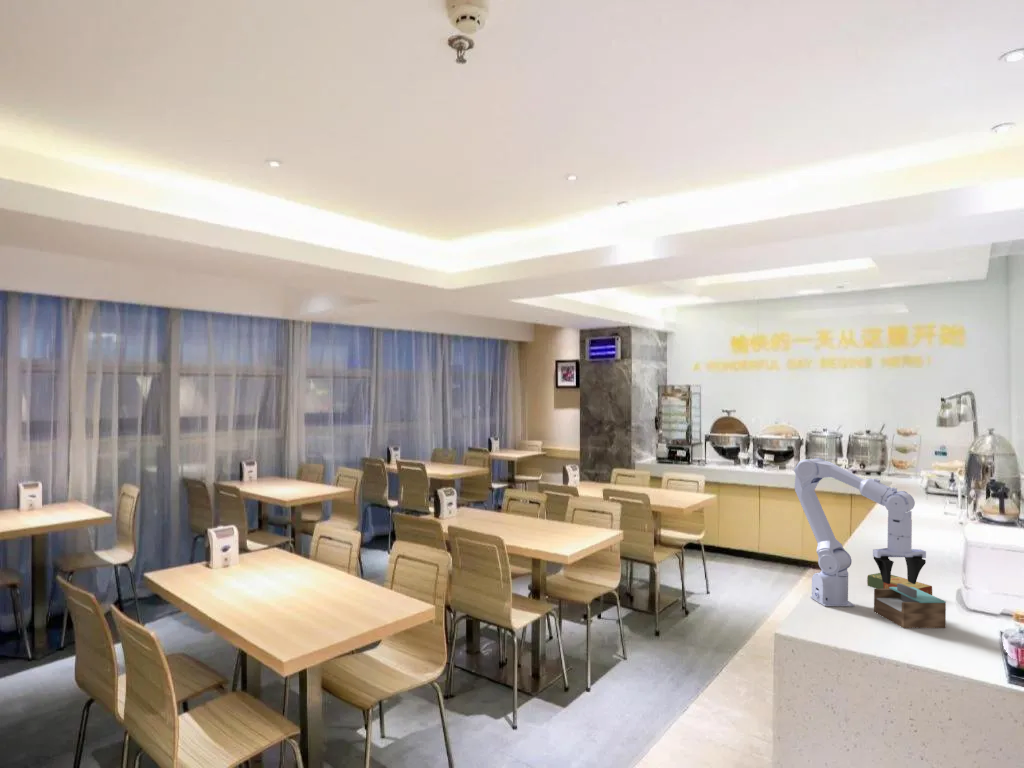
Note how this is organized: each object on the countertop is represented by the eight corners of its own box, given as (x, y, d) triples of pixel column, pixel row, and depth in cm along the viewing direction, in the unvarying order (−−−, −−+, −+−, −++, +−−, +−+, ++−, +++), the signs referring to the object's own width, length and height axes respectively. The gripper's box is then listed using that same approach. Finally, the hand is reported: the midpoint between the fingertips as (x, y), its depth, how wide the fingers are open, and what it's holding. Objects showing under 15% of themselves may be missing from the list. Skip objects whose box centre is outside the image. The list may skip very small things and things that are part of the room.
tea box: (903, 628, 160) (903, 603, 160) (873, 611, 172) (874, 588, 172) (945, 628, 161) (945, 603, 161) (913, 611, 173) (913, 588, 173)
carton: (916, 602, 182) (916, 588, 182) (866, 586, 197) (866, 573, 197) (932, 598, 186) (932, 585, 186) (882, 583, 200) (882, 571, 200)
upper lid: (920, 602, 161) (920, 594, 161) (889, 588, 173) (889, 580, 173) (945, 602, 161) (945, 594, 161) (913, 588, 173) (913, 580, 173)
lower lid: (900, 611, 161) (900, 602, 161) (876, 599, 171) (876, 590, 171) (926, 611, 162) (926, 602, 162) (900, 599, 172) (901, 590, 172)
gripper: (885, 538, 162) (884, 587, 162) (934, 538, 163) (934, 587, 163) (867, 532, 169) (867, 579, 169) (915, 532, 170) (915, 579, 170)
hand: (899, 582), depth 167 cm, fingers open, 7 cm apart
